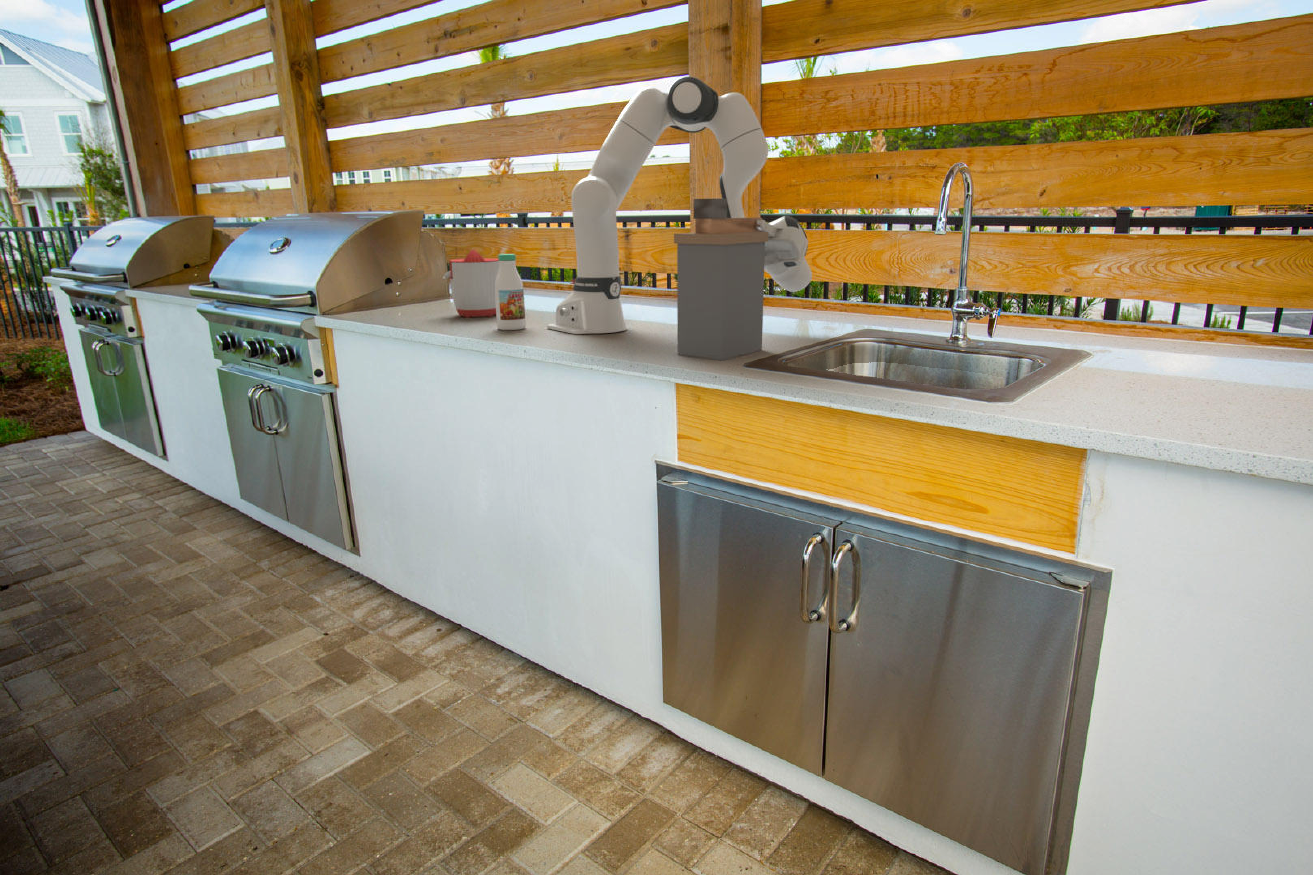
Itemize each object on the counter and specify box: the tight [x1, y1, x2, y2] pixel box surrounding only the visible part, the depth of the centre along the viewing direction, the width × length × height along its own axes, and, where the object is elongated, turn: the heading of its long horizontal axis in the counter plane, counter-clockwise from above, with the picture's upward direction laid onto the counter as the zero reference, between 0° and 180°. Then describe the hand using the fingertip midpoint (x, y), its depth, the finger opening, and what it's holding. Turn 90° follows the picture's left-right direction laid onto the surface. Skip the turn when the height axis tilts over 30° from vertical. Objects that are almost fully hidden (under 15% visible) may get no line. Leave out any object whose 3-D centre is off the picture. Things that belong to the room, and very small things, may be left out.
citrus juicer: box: [442, 249, 500, 319], centre depth 235 cm, size 16×17×20 cm
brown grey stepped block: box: [693, 198, 763, 234], centre depth 166 cm, size 5×20×7 cm, turn 141°
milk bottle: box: [495, 253, 527, 331], centre depth 208 cm, size 8×8×20 cm
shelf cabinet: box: [673, 232, 769, 361], centre depth 169 cm, size 13×17×26 cm
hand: (746, 222), depth 172 cm, fingers open, 5 cm apart
